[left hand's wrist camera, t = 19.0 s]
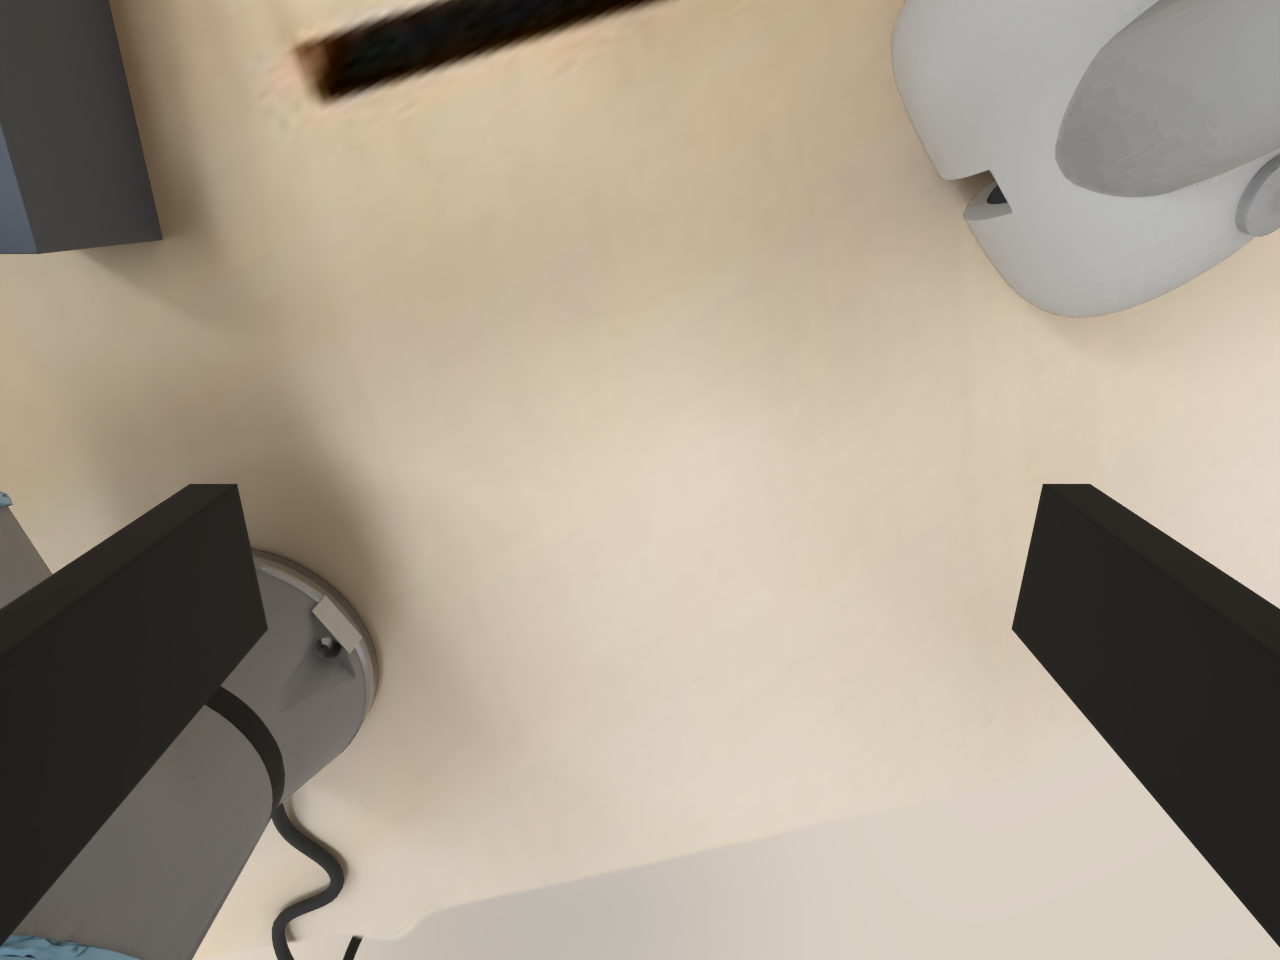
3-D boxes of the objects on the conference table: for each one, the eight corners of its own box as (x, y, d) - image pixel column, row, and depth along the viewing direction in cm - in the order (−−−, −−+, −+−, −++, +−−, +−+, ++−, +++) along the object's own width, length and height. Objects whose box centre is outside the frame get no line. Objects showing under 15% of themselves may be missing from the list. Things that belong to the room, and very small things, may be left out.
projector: (1277, 323, 37) (1643, 402, 24) (826, 286, 37) (936, 345, 23) (1498, -242, 29) (2251, -618, 16) (924, -303, 28) (1185, -751, 15)
